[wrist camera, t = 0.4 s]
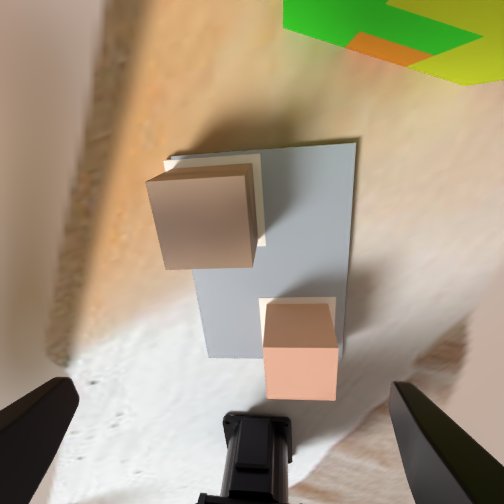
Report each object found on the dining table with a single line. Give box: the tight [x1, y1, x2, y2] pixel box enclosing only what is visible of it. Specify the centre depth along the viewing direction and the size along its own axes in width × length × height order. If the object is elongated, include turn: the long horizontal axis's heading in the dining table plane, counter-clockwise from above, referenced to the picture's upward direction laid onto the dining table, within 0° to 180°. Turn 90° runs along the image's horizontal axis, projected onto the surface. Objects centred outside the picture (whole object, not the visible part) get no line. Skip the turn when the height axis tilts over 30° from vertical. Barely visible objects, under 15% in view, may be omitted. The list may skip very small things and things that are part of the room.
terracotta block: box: [263, 304, 339, 401], centre depth 20 cm, size 4×4×4 cm
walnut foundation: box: [145, 163, 258, 270], centre depth 17 cm, size 5×5×4 cm
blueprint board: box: [163, 142, 356, 359], centre depth 21 cm, size 16×12×1 cm
